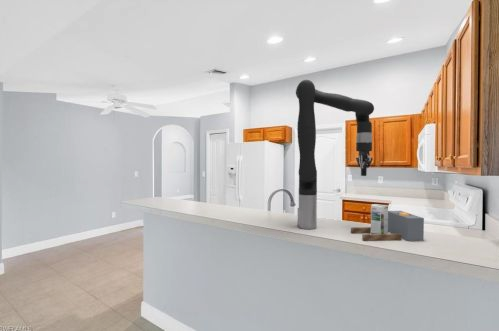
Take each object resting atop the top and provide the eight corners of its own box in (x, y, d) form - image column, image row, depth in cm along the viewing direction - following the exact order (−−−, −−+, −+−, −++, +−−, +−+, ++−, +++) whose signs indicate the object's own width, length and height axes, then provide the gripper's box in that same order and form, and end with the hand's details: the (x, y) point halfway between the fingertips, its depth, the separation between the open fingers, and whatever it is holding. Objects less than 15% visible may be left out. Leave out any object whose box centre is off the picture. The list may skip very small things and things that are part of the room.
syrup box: (370, 235, 123) (370, 204, 123) (375, 233, 127) (376, 203, 127) (382, 238, 119) (383, 206, 119) (388, 236, 123) (388, 204, 123)
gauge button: (402, 222, 121) (402, 214, 121) (397, 220, 125) (397, 212, 125) (411, 222, 122) (411, 213, 121) (405, 220, 126) (405, 212, 125)
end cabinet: (408, 241, 115) (408, 218, 115) (386, 231, 131) (386, 210, 131) (423, 240, 116) (423, 218, 116) (400, 230, 132) (400, 210, 132)
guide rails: (364, 241, 116) (364, 235, 116) (350, 232, 129) (350, 227, 129) (401, 240, 117) (401, 234, 117) (384, 231, 130) (384, 226, 130)
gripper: (351, 142, 142) (350, 175, 142) (363, 141, 129) (362, 176, 129) (364, 142, 142) (364, 175, 143) (378, 141, 129) (377, 176, 130)
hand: (363, 175), depth 136 cm, fingers closed
